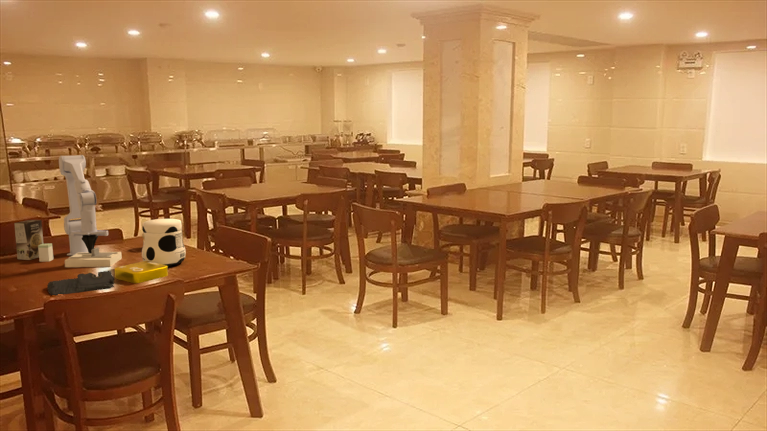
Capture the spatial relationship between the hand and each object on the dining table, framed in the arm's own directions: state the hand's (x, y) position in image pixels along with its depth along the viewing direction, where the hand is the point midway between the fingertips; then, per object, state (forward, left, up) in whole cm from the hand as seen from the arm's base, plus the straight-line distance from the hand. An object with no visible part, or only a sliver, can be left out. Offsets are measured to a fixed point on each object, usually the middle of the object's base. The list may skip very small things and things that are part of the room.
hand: (91, 252), depth 261 cm
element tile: (+24, +27, -5) cm, 37 cm away
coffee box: (-12, -30, -5) cm, 33 cm away
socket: (0, 0, -4) cm, 4 cm away
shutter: (0, +4, -1) cm, 5 cm away
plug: (-6, -21, -4) cm, 22 cm away
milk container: (+4, +31, -5) cm, 32 cm away
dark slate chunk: (+37, +10, -5) cm, 38 cm away
